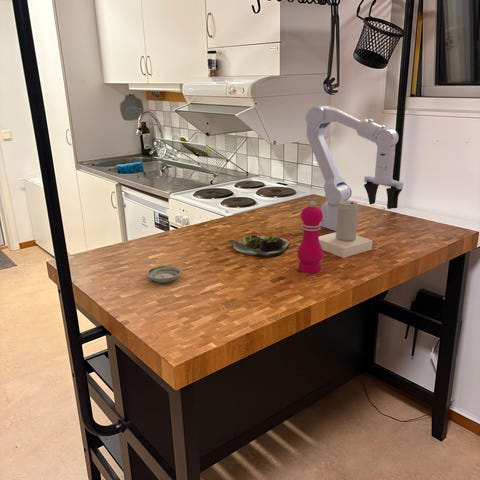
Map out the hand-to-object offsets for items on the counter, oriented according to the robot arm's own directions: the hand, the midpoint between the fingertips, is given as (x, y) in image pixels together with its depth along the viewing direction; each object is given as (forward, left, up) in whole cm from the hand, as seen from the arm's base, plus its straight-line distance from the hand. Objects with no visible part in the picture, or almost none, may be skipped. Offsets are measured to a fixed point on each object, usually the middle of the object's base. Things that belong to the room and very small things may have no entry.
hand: (380, 206), depth 162 cm
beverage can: (+2, -19, -8) cm, 21 cm away
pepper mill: (+9, -41, -11) cm, 43 cm away
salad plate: (-13, -41, -11) cm, 44 cm away
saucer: (-9, -78, -11) cm, 79 cm away
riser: (+2, -20, -10) cm, 23 cm away
